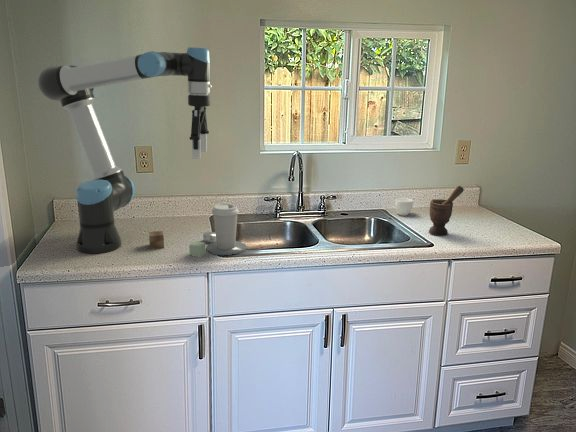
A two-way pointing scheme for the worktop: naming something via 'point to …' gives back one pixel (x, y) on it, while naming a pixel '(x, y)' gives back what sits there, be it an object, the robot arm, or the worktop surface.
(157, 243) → the walnut block
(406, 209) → the cup
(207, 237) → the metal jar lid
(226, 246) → the coffee cup
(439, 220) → the mortar and pestle
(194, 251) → the sage block
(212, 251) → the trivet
